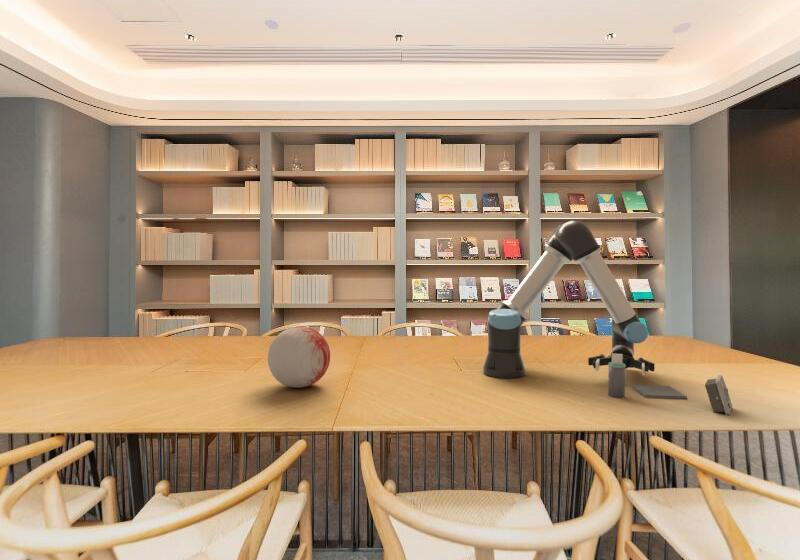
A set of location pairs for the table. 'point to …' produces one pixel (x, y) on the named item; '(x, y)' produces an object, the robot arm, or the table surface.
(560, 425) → the table surface
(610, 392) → the trash can
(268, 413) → the table surface
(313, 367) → the decorative orb
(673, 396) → the pad
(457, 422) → the table surface
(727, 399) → the electrical switch
